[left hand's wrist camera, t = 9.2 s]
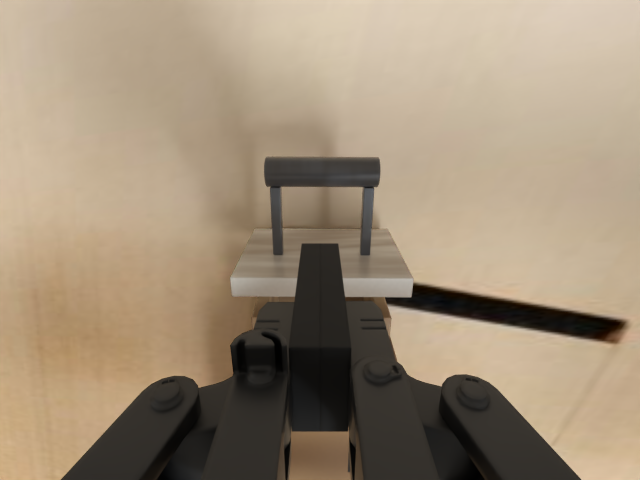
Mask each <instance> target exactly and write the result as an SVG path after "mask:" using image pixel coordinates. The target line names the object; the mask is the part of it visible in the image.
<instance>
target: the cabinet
mask: <svg viewBox="0 0 640 480" xmlns="http://www.w3.org/2000/svg"><path fill="white" fill-rule="evenodd" d="M390 342H391V338H390ZM391 345H392V342H391ZM392 349H393V352H394V348H393V345H392ZM394 355H395V352H394ZM395 359H396V355H395ZM396 361H397V359H396ZM348 453H349V427H348V432H292V429H291V463H290V476H289V480H351V475H350V472H348Z"/></svg>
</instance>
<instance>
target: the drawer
mask: <svg viewBox="0 0 640 480" xmlns="http://www.w3.org/2000/svg"><path fill="white" fill-rule="evenodd" d="M264 176H265V183H266V186H267V187H270V198H271V219H272V228H255V229H254V231H253V233H252V235H251V237H250V239H249V241H248V243H247V245H246V247H245V249H244V251H243V253H242V255H241V257H240V259H239V261H238V263H237V265H236V267H235V269H234V271H233V273H232V275H231V277H230V282H231V293H232V296H234V297H258V299H257V302H256V305H255V309H254V312H253V315H252V329H253V330H254V326H255V322H256V319H257V315H258V312H259V310H260V309H261V308H262V307H263V306H264V305H265V304H266V303H267V302H294V300H295V292H296V284H297V277H298V269H299V261H300V253H301V245H302V243H338V245H339V253H340V261H341V269H342V277H343V284H344V292H345V300H346V301H373V302H374V303H375V304H376V305H377V306H378V307H379V308H380V309H381V311H382V314H383V317H384V321H385V324H386V330H387V331H388V335H389V338H390V327H391V316H390V313H389V310H388V307H387V304H386V300H385V297H411V296H412V288H413V277H412V275H411V273H410V271H409V269H408V267H407V265H406V263H405V261H404V259H403V257H402V255H401V253H400V252H399V250H398V248H397V246H396V244H395V242H394V240H393V238H392V236H391V234H390V232H389V230H388V229H372V216H373V200H374V187H378V185H379V181H380V160H379V158H378V157H266V158H265V163H264ZM281 187H363V193H362V213H361V229H283V221H282V194H281Z"/></svg>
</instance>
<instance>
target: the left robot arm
mask: <svg viewBox="0 0 640 480" xmlns="http://www.w3.org/2000/svg"><path fill="white" fill-rule="evenodd" d="M230 347H231V356H232V365H233V373H234V374H233V376H232V377H231V378H229V379H227V380H225V381H223V382H220V383H217V384H213V385H209V386H205V387H201V388H198V385H197V384H196V383H195V381H194V380H193V379H190V378H188V377H185V376H172V377H168V378H163V379H161V380H159V381H157V382H155V383H153V384H151V385H150V386H148V387H147V388H146V389H145V390H144V391H142V392H141V393H140V395H139V396H138V397H137V398H136V399H135V400H134V401H133V402H132V403H131V404H130V405H129V407H128V408H127V409H126V410H125V411H124V412H123V413H122V414H121V415H120V416H119V417H118V418H117V420H116V421H115V422H114V423H113V424H112V425H111V426H110V427H109V428H108V429H107V430H106V431H105V433H104V434H103V435H102V436H101V437H100V438H99V439H98V440H97V441H96V442H95V443H94V444H93V446H92V447H91V448H90V449H89V450H88V451H87V452H86V453H85V454H84V455H83V456H82V457H81V459H80V460H79V461H78V462H77V463H76V464H75V465H74V466H73V467H72V468H71V469H70V470H69V472H68V473H67V474H66V475H65V476H64V477H63V478H62V479H61V480H289V476H290V463H291V429H292V432H348V427H349V453H348V472H350V475H351V480H581V479H580V478H579V477H578V476H577V475H576V473H575V472H574V471H573V470H572V469H571V468H570V467H569V466H568V465H567V464H566V463H565V462H564V461H563V459H562V458H561V457H560V456H559V455H558V454H557V453H556V452H555V451H554V450H553V449H552V448H551V447H550V445H549V444H548V443H547V442H546V441H545V440H544V439H543V438H542V437H541V436H540V435H539V434H538V433H537V431H536V430H535V429H534V428H533V427H532V426H531V425H530V424H529V423H528V422H527V421H526V420H525V419H524V417H523V416H522V415H521V414H520V413H519V412H518V411H517V410H516V409H515V408H514V407H513V406H512V405H511V403H510V402H509V401H508V400H507V399H506V398H505V397H504V396H503V395H502V394H501V393H500V392H499V391H498V390H497V389H496V388H495V387H494V386H492V385H491V384H490V383H489V382H487V381H485V380H482V379H480V378H478V377H475V376H470V375H454V376H451V377H449V378H447V379H446V380H445V382H444V383H443V384H442V387H441V386H437V385H433V384H429V383H425V382H422V381H419V380H416V379H414V378H412V377H410V376H409V375H407V373H406V371H405V370H404V368H403V366H402V365H401V364H399V363H398V362H397V361H396V359H395V355H394V352H393V349H392V345H391V342H390V338H389V335H388V331H387V330H386V324H385V321H384V317H383V314H382V311H381V309H380V308H379V307H378V306H377V305H376V304H375V303H374V302H373V301H346V300H345V292H344V284H343V277H342V269H341V261H340V253H339V245H338V243H302V245H301V253H300V261H299V269H298V277H297V284H296V292H295V300H294V302H267V303H266V304H265V305H264V306H263V307H262V308H261V309H260V310H259V312H258V315H257V319H256V322H255V326H254V330H250V331H247V332H245V333H242V334H241V335H239V336H238V337H237V338H235V339H234V341H233V342H232V344H231V345H230Z"/></svg>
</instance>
